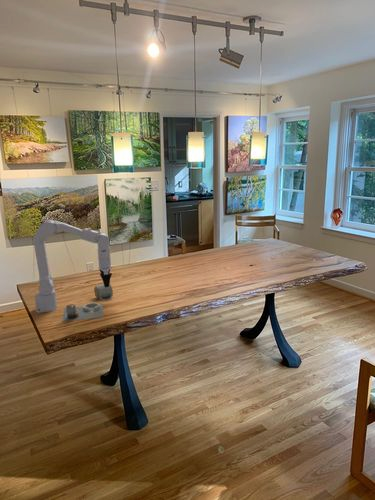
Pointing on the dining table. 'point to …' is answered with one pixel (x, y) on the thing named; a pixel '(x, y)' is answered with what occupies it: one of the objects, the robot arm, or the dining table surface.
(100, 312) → the hub board
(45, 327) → the dining table surface
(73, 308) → the knob
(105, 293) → the ceramic mug
